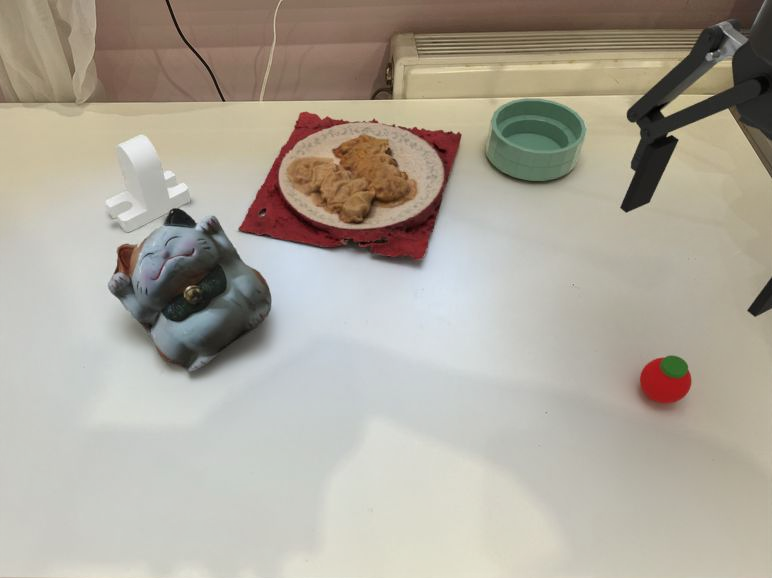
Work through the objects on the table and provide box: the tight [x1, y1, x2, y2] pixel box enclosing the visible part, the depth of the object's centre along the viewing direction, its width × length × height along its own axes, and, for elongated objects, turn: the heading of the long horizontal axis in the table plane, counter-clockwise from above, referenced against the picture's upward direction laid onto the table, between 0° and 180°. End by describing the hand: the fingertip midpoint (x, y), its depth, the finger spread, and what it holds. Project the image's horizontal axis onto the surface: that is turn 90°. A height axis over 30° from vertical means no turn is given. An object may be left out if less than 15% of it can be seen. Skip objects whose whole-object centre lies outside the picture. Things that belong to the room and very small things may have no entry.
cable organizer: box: [105, 133, 191, 233], centre depth 87 cm, size 5×10×10 cm, turn 128°
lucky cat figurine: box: [107, 207, 273, 373], centre depth 74 cm, size 15×12×14 cm
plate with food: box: [238, 111, 463, 261], centre depth 91 cm, size 24×26×4 cm
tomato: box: [639, 355, 693, 404], centre depth 69 cm, size 5×5×5 cm
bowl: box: [485, 97, 588, 182], centre depth 93 cm, size 12×12×5 cm
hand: (694, 253), depth 56 cm, fingers open, 13 cm apart
